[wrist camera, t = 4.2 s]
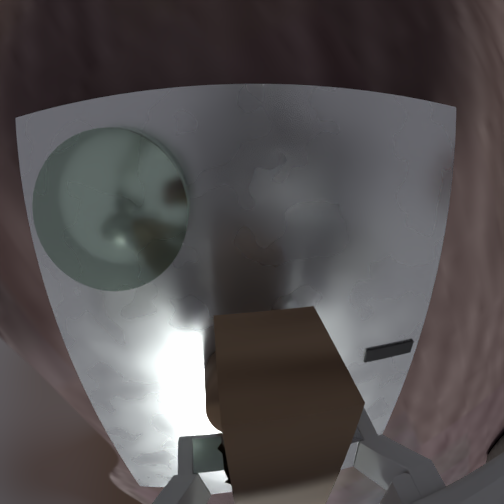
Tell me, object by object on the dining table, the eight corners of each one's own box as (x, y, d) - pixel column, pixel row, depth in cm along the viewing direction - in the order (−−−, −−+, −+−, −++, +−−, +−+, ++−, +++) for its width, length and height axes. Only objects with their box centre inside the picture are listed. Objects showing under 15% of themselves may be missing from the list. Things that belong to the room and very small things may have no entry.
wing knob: (191, 284, 11) (185, 450, 5) (316, 274, 12) (404, 414, 6) (215, 436, 15) (226, 551, 9) (299, 426, 15) (332, 534, 9)
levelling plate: (35, 116, 9) (-4, 119, 7) (434, 105, 11) (476, 108, 9) (141, 469, 18) (139, 500, 16) (363, 444, 20) (375, 471, 17)
